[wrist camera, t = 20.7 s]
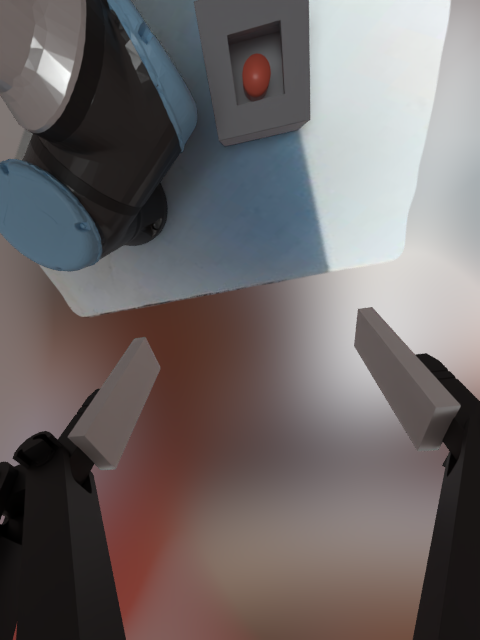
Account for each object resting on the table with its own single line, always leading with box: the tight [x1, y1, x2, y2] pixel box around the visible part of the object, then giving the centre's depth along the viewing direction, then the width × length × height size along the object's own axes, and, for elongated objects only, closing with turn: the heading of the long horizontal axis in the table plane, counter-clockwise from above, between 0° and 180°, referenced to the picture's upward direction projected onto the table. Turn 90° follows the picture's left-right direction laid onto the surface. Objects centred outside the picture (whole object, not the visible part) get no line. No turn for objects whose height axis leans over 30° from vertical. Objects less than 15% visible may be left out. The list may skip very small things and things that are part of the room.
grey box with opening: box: [194, 0, 310, 146], centre depth 31 cm, size 12×12×9 cm
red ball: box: [242, 53, 271, 101], centre depth 32 cm, size 4×4×4 cm
